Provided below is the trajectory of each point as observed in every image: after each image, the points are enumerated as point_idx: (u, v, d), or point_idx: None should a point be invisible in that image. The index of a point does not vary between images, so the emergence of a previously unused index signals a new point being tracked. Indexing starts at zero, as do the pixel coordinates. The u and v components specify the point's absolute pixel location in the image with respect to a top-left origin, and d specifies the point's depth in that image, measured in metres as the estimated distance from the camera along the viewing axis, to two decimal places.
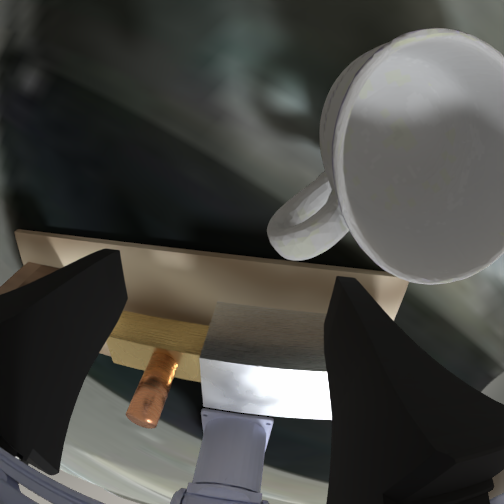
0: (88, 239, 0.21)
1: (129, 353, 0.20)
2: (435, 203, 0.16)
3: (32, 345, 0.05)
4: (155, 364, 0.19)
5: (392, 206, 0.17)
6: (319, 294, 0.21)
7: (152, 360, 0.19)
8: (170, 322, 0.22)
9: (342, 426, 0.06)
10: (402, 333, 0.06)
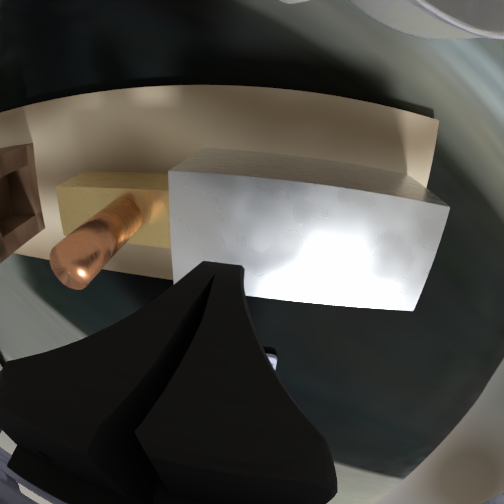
0: None
1: (82, 210, 0.15)
2: None
3: None
4: (109, 206, 0.13)
5: None
6: (332, 132, 0.16)
7: (107, 205, 0.14)
8: (141, 173, 0.16)
9: None
10: (244, 320, 0.06)
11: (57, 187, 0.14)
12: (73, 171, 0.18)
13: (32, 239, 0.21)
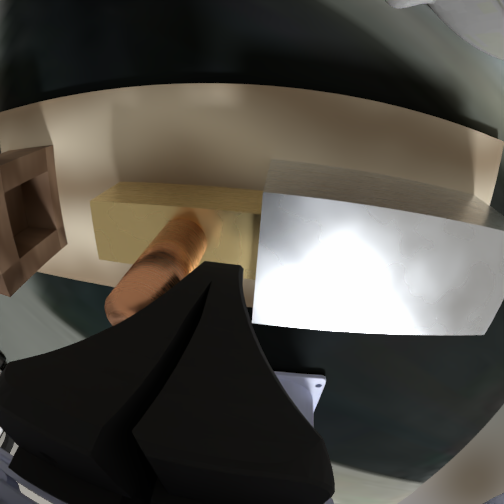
0: (91, 92, 0.14)
1: (126, 231, 0.13)
2: None
3: None
4: (170, 230, 0.11)
5: None
6: (410, 149, 0.14)
7: (165, 227, 0.12)
8: (196, 186, 0.14)
9: None
10: (242, 320, 0.06)
11: (92, 202, 0.12)
12: (105, 179, 0.16)
13: None
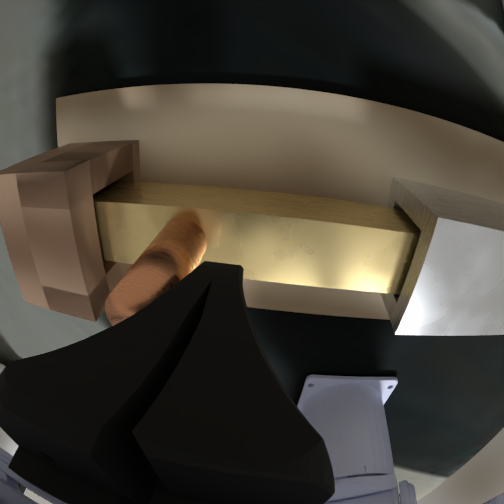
0: None
1: (126, 231, 0.13)
2: None
3: None
4: (170, 230, 0.11)
5: None
6: (497, 174, 0.13)
7: (165, 227, 0.12)
8: (196, 187, 0.14)
9: None
10: (243, 320, 0.06)
11: None
12: (209, 184, 0.16)
13: None
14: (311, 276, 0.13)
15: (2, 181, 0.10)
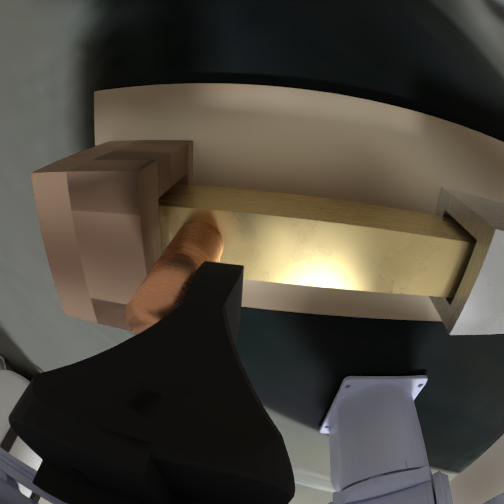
0: (258, 85, 0.13)
1: None
2: None
3: None
4: (188, 232, 0.11)
5: None
6: None
7: (182, 229, 0.12)
8: (210, 188, 0.14)
9: None
10: (219, 317, 0.06)
11: None
12: (269, 190, 0.16)
13: None
14: (327, 278, 0.13)
15: (46, 180, 0.09)
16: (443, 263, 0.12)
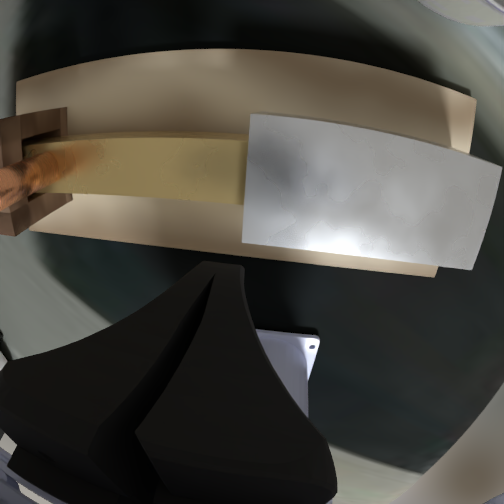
0: None
1: None
2: None
3: None
4: (31, 156, 0.13)
5: None
6: (386, 102, 0.15)
7: None
8: None
9: None
10: (244, 320, 0.06)
11: None
12: None
13: (56, 213, 0.21)
14: (123, 186, 0.14)
15: None
16: (226, 166, 0.14)
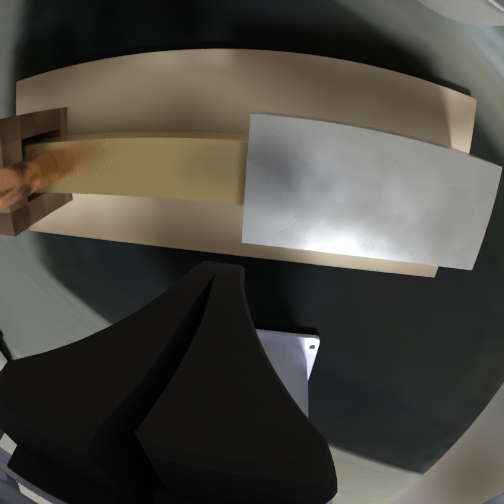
0: None
1: None
2: None
3: None
4: (31, 156, 0.13)
5: None
6: (386, 102, 0.15)
7: None
8: None
9: None
10: (244, 320, 0.06)
11: None
12: None
13: (56, 213, 0.21)
14: (123, 186, 0.14)
15: None
16: (226, 166, 0.14)
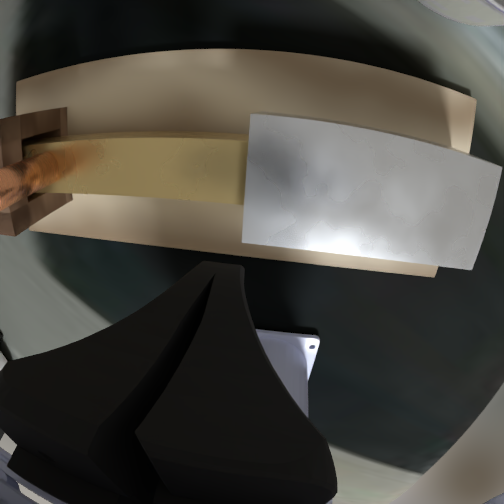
0: None
1: None
2: None
3: None
4: (31, 156, 0.13)
5: None
6: (386, 102, 0.15)
7: None
8: None
9: None
10: (244, 320, 0.06)
11: None
12: None
13: (56, 213, 0.21)
14: (123, 186, 0.14)
15: None
16: (226, 166, 0.14)
